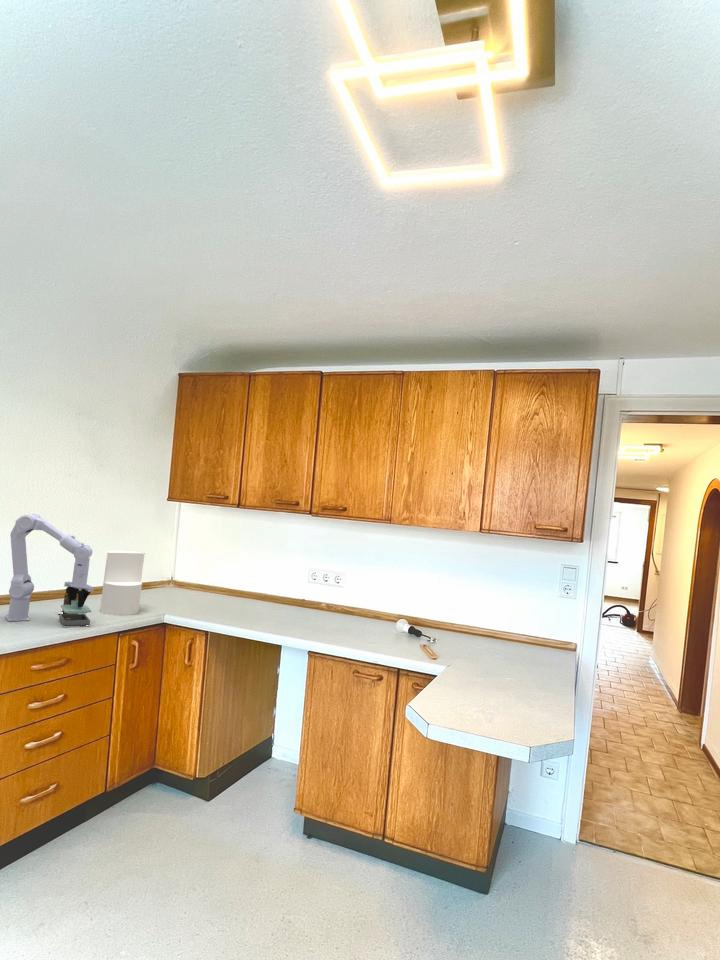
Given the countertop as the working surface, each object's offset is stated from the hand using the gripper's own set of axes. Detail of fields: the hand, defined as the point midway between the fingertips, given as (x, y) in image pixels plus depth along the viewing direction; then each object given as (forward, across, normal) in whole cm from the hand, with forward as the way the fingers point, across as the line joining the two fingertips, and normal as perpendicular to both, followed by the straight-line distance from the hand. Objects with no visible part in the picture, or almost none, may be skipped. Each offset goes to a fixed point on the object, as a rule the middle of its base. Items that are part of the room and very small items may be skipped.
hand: (76, 605), depth 239 cm
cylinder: (+8, -5, +31) cm, 32 cm away
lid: (+2, 0, 0) cm, 2 cm away
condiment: (+8, -15, +10) cm, 20 cm away
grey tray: (+7, 0, 0) cm, 7 cm away
